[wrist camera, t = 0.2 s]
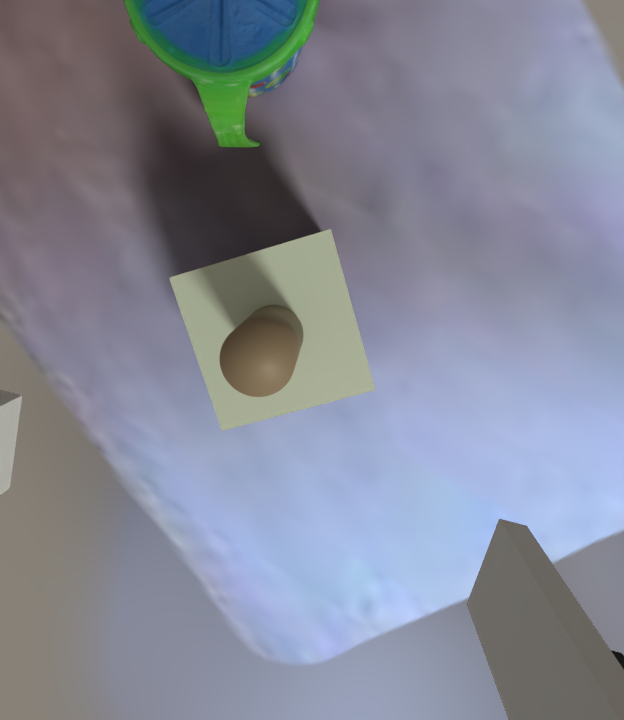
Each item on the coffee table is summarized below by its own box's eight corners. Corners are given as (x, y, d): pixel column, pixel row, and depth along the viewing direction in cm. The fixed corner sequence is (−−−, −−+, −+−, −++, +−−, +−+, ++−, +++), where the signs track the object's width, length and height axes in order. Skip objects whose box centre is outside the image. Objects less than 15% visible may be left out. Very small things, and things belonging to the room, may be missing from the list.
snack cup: (309, 169, 38) (301, 143, 28) (167, 149, 38) (108, 118, 28) (340, -78, 35) (343, -206, 25) (183, -99, 35) (122, -235, 25)
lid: (174, 276, 32) (122, 288, 24) (330, 229, 31) (329, 225, 23) (225, 424, 34) (192, 480, 26) (373, 384, 33) (386, 430, 25)
